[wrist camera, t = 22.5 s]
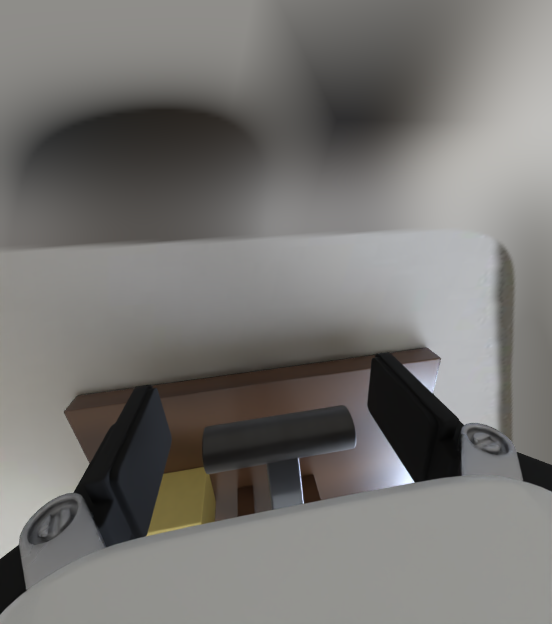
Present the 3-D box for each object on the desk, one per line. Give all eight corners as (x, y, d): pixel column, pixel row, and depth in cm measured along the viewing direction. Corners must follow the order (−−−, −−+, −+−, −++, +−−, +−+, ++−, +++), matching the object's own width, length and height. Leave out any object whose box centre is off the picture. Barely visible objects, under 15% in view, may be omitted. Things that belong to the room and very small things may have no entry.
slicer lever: (208, 413, 10) (196, 448, 8) (335, 394, 10) (361, 421, 8) (250, 751, 11) (251, 881, 8) (366, 716, 11) (399, 830, 9)
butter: (134, 517, 16) (114, 581, 13) (118, 481, 15) (92, 544, 12) (216, 501, 17) (212, 560, 14) (207, 465, 15) (201, 522, 13)
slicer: (76, 395, 14) (-509, 1103, 3) (427, 347, 16) (834, 652, 5) (164, 585, 22) (93, 967, 11) (390, 536, 24) (519, 812, 13)
